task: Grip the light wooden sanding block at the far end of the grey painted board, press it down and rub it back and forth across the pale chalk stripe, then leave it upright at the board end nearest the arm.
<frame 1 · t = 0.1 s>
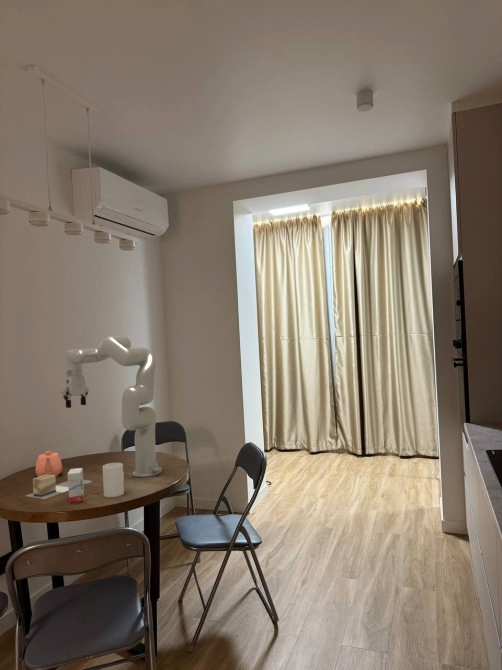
hand: (76, 406, 247), 31 cm above the table, tool pointing down, fingers open, 9 cm apart
ink box: (76, 500, 191), on the table
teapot: (49, 477, 229), on the table
mug: (113, 493, 197), on the table
grey board: (60, 490, 205), on the table
sanding block: (44, 493, 198), point 1 cm above the table, touching grey board
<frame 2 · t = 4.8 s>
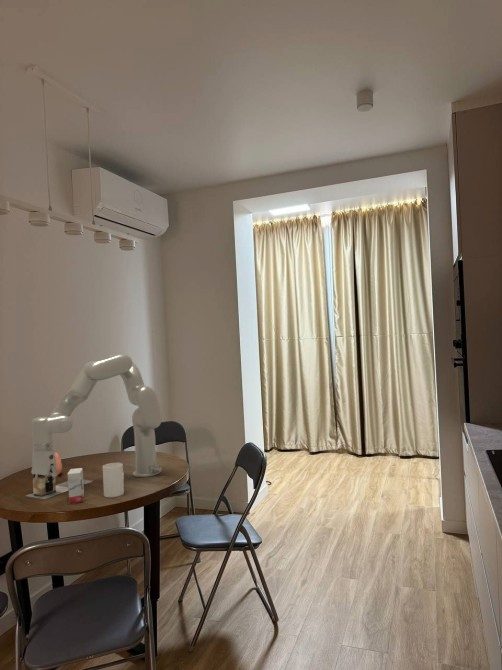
hand: (44, 490, 198), 2 cm above the table, tool pointing down, fingers closed on sanding block, 5 cm apart
sanding block: (44, 493, 198), point 1 cm above the table, touching grey board, gripper
everything else where it was.
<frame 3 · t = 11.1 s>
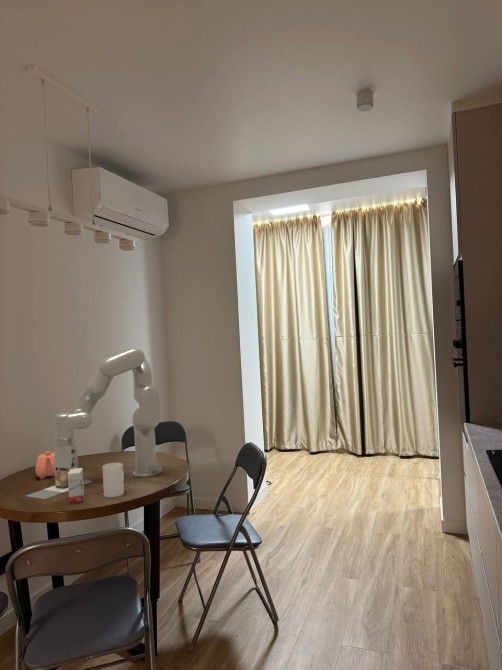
hand: (66, 483, 208), 2 cm above the table, tool pointing down, fingers closed on sanding block, 5 cm apart
sanding block: (66, 485, 208), point 1 cm above the table, touching gripper
everything else where it was.
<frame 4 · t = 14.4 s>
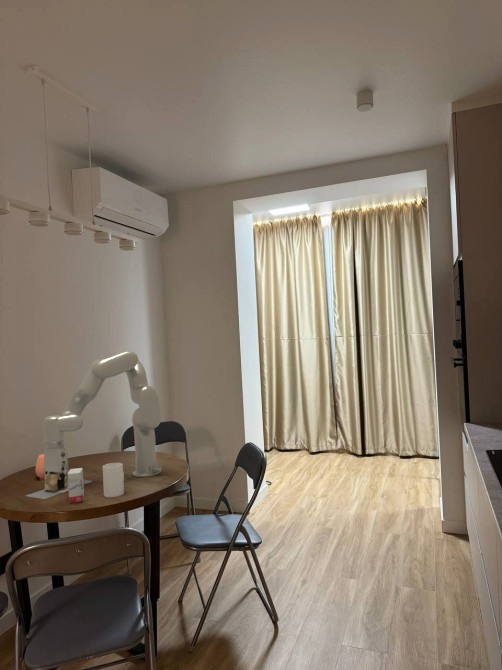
hand: (56, 487, 203), 2 cm above the table, tool pointing down, fingers closed on sanding block, 5 cm apart
sanding block: (56, 489, 203), point 1 cm above the table, touching gripper
everything else where it was.
when the fingers open (2 cm above the table, at t = 17.6 s): sanding block stays where it is, resting on grey board.
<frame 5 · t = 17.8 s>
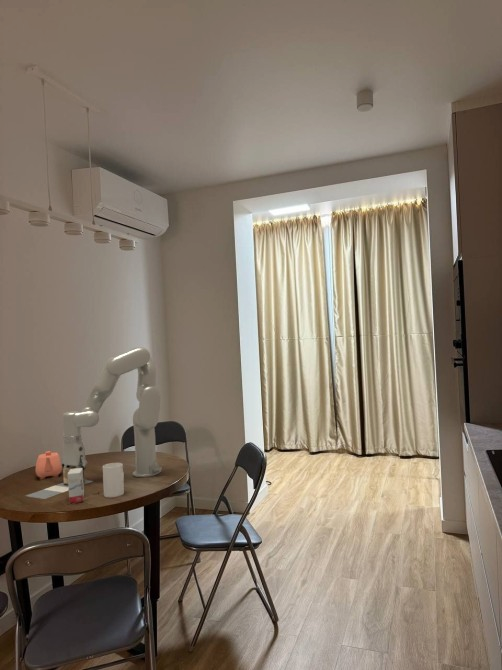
hand: (74, 479, 212), 3 cm above the table, tool pointing down, fingers open, 7 cm apart
sanding block: (74, 483, 211), point 1 cm above the table, touching grey board
everything else where it was.
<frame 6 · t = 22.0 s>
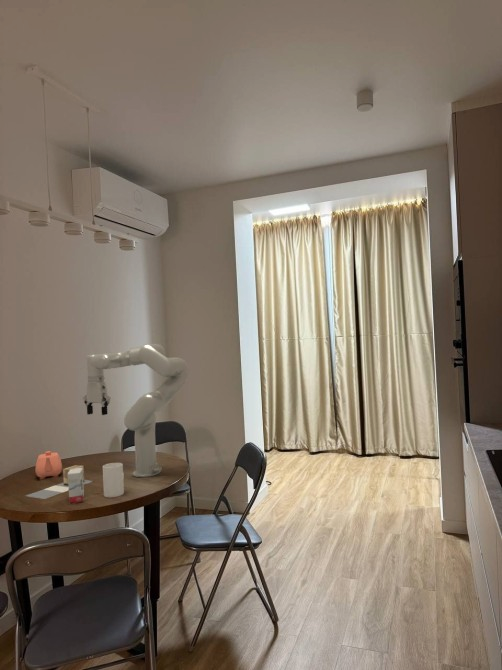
hand: (97, 414, 233), 28 cm above the table, tool pointing down, fingers open, 9 cm apart
nothing on the table moved.
at the end: sanding block inside the target area (1.2 cm from its centre), point 1.0 cm above the table; sanding block tilted 0°; the gripper is holding nothing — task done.
